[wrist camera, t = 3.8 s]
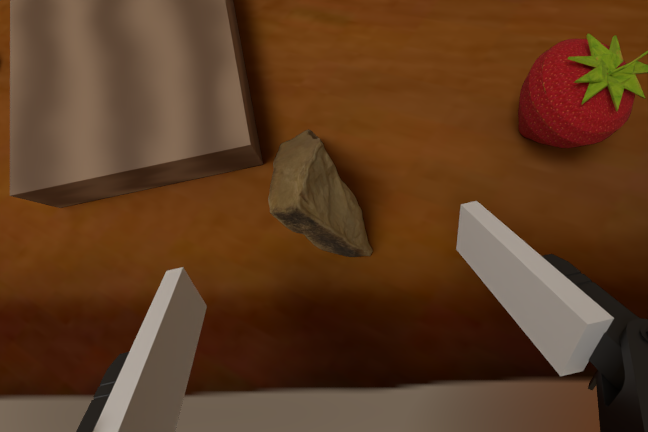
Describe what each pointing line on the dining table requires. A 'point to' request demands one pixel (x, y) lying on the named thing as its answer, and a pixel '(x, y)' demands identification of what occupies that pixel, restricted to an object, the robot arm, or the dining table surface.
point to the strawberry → (578, 93)
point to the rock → (316, 198)
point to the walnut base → (125, 97)
